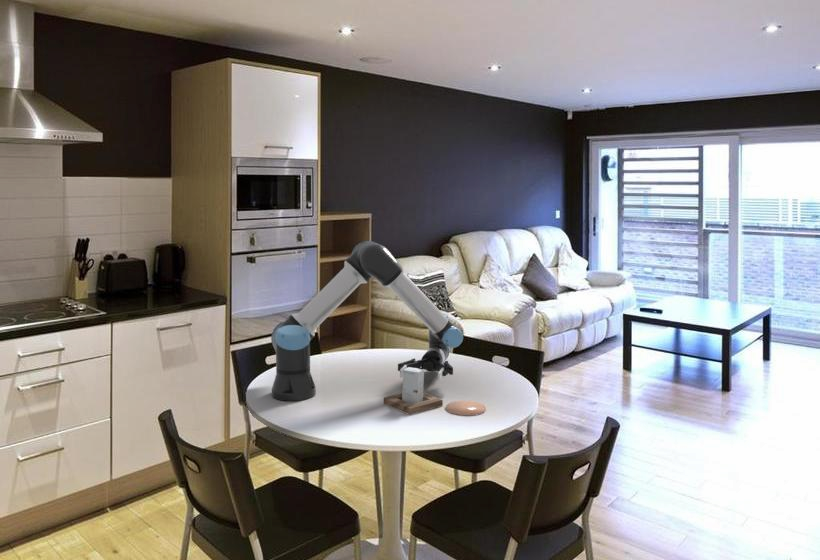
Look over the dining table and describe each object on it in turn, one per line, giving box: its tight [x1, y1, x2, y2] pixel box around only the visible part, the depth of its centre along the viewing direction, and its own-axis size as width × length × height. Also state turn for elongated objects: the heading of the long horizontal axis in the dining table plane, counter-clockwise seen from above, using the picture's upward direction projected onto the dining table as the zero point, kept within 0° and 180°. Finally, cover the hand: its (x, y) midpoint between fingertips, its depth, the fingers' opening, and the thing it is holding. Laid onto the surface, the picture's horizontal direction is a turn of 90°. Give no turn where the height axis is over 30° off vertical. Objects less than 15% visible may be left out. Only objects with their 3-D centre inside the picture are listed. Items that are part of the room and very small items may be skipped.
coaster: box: [445, 400, 487, 416], centre depth 216 cm, size 13×13×1 cm
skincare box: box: [401, 367, 425, 404], centre depth 219 cm, size 6×4×12 cm
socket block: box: [383, 392, 444, 415], centre depth 220 cm, size 14×14×2 cm
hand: (420, 375), depth 228 cm, fingers open, 13 cm apart
